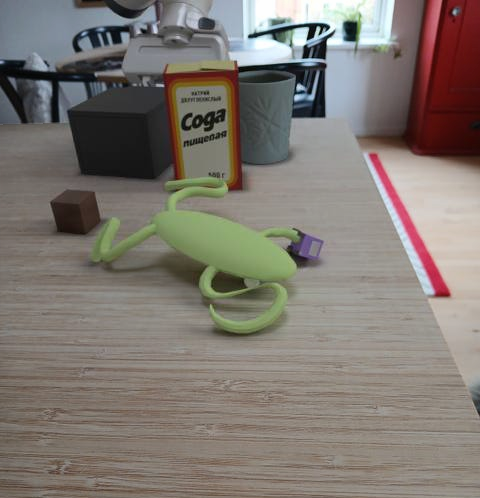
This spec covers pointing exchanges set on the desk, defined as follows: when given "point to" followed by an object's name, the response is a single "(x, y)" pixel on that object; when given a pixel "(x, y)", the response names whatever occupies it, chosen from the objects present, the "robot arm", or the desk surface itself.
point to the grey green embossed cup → (265, 115)
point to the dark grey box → (122, 133)
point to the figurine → (218, 248)
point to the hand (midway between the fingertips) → (168, 103)
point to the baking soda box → (204, 120)
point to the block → (75, 211)
